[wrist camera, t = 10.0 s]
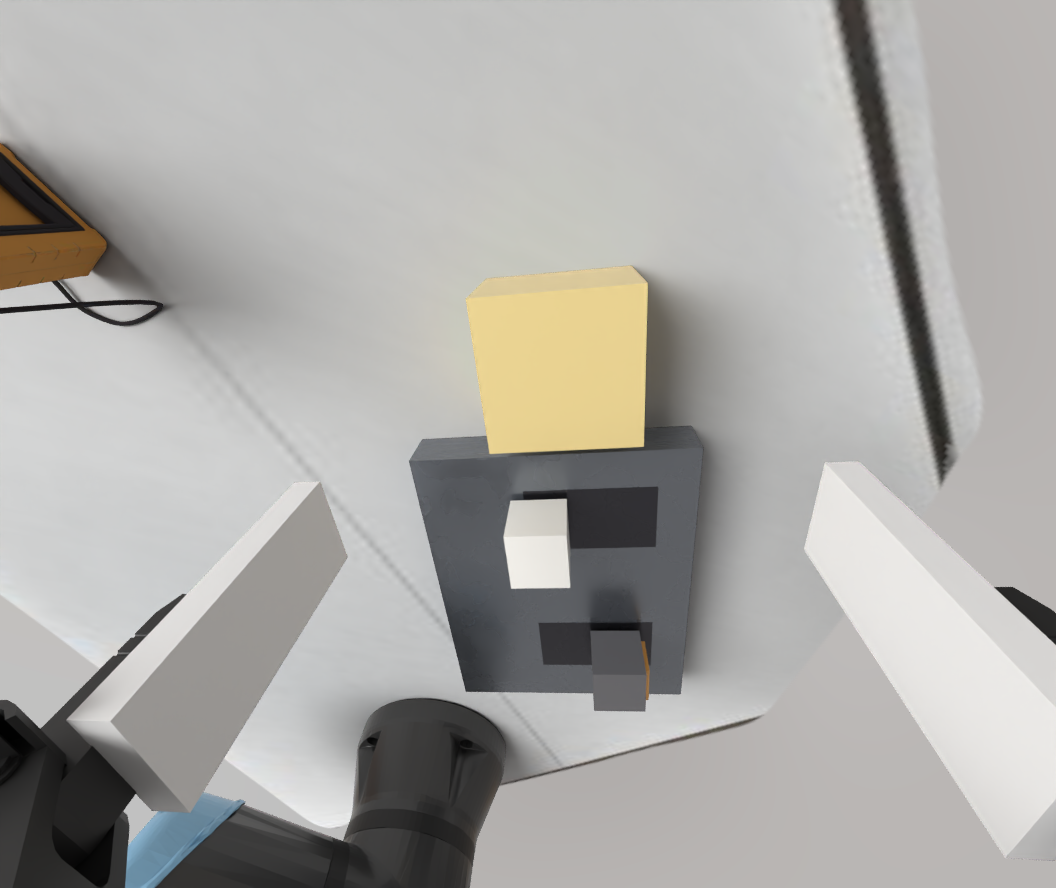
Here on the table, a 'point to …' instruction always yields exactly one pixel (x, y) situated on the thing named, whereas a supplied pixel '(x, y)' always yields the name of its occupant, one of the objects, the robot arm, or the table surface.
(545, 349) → the cap
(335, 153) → the table surface
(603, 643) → the block
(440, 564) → the breaker panel
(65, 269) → the multimeter
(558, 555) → the block
